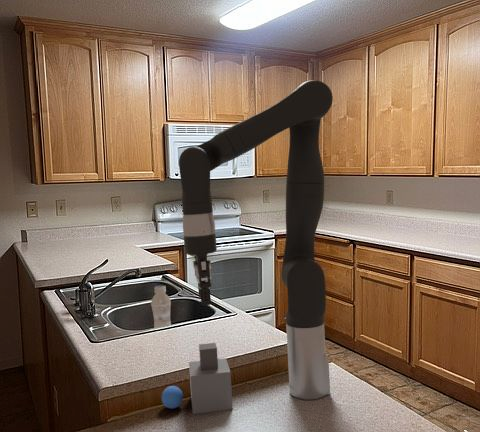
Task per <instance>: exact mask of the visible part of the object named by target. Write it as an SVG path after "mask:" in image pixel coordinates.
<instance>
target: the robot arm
mask: <svg viewBox="0 0 480 432" xmlns="http://www.w3.org/2000/svg"><path fill="white" fill-rule="evenodd" d="M333 100H334V99H333V92H332V90H331V88H330V87H329V86H328V85H327V84H326V83H325V82H323V81H320V80H318V79H317V80H315V79H312V80H308V81H304V82H302V83H301V84H299V85H298V86H297V87H296V88H295V89H294V90H293V91H292V92H291V93H289V95H286V97H285V98H283V99H281V100H279V102H276V103H275V104H273V105H271V106H270V107H268V108H266V109H264V110H262V111H260V112H258V113H256V114H254V115H252V116H250V117H247V118H246V119H244V120H241V121H240V122H237V123H236V124H234V125H232V126H230V127H227V128H226V129H224V130H222V131H220V132H219V133H217V134H215V135H213V137H212V138H210V139H209V140H206V141H205V142H202V143H201V144H199V145H197V146H190V147H188V148H185V149H184V150H183V151H182V152H181V153H180V156H179V157H178V169H179V175H180V183H181V189H182V190H181V192H182V193H181V195H182V196H181V204H182V206H181V207H182V208H181V209H182V231H183V245H184V253H185V254H186V255H187V256H188V255H190V256H194V260H193V261H192V263H193V265H192V267H193V269H194V276H195V278H196V282H197V288H198V289H197V290H198V297H199V298H200V304H201V306H203V307H204V306H205V307H206V306H211V304H212V300H211V287H212V283H211V279H212V273H211V272H212V271H211V268H212V264H211V263H212V262H211V260H210V259H208V255H209V254H213V253H216V252H217V249H218V247H217V236H216V235H217V234H216V223H215V218H214V209H213V199H212V192H211V171H213V170H215V169H217V168H218V167H220V166H222V165H223V164H224V163H228V162H230V161H232V160H234V159H236V158H239V157H241V156H242V155H244V154H246V153H249V152H250V151H251V150H254V149H255V148H256V147H259V146H260V145H262V144H264V143H266V141H268V140H269V139H271V138H273V137H274V136H276V135H278V134H279V133H282V132H283V131H286V130H287V129H288V131H289V150H288V158H287V171H286V179H285V181H286V182H285V183H286V185H285V245H284V252H283V258H282V259H283V260H282V265H281V271H280V272H281V273H280V275H281V280H282V283H283V284H284V286H285V287H286V290H287V311H286V312H285V326H286V329H285V330H286V345H287V346H286V347H287V348H286V349H287V362H288V364H287V365H288V367H287V368H288V386H289V393H290V395H291V396H293V398H294V397H295V398H297V399H301V400H307V401H308V400H317V399H321V398H323V397H326V396H327V395H331V383H330V382H331V381H330V379H331V378H330V363H329V361H330V360H329V359H330V358H329V355H328V353H326V336H325V335H326V334H325V315H326V311H327V298H326V297H327V296H326V293H327V290H326V287H327V286H326V277H325V272H324V270H323V268H322V266H321V265H320V264H319V263H318V262H316V259H315V258H316V256H315V240H316V239H315V237H316V233H317V228H318V224H319V221H320V219H321V215H322V211H323V207H324V198H325V172H324V165H323V162H322V158H321V157H322V156H321V152H320V144H319V143H320V142H319V140H320V138H319V137H320V127H321V121H322V119H323V117H325V116H326V115H327V114H328V112H329V110H331V108H332V104H333V102H334V101H333Z"/></svg>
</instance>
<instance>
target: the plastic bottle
mask: <svg viewBox="0 0 480 432" xmlns="http://www.w3.org/2000/svg"><path fill="white" fill-rule="evenodd" d="M166 288H167V287H166V285H156V286H154V295H153V297H152V298H151V301H150V305H151V309H152V315H153V323H154V325H153V326H154V327H153V329H154V328H158V327H163V326H167V325H171V326H172V322H171V305H172V303H171V302H172V301H171V299H170V297H169V295H168V294H166V292H167V289H166Z"/></svg>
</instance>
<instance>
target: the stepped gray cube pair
mask: <svg viewBox="0 0 480 432" xmlns="http://www.w3.org/2000/svg"><path fill="white" fill-rule="evenodd" d="M198 351H199V352H198V353H199V360H196V361H195V360H194V361H189V362H188V367H189V370H188V371H189V382H190V383H189V385H190V397H191V398H190V400H191V408H192V410H191V411H192V415H197V414H206V413H212V412H221V411H228V410H229V411H231V410H233V393H232V392H233V391H232V377H231V376H232V374H231V369H230V367H229V363H228V360H227V358H226V357H224V358H218V347H217V343H216V342H210V343H201V344H198Z"/></svg>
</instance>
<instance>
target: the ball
mask: <svg viewBox="0 0 480 432" xmlns="http://www.w3.org/2000/svg"><path fill="white" fill-rule="evenodd" d="M183 399H184V394H183V391H182V390H181V389H180V388H179V387H178V386H176V385H169V386H168V387H166V388H165V389H164V390H163V391H162V394H161V402H162V404H163V405H164V407H165V408H168V409H173V410H174V409H177V408H178V407H179V406H180V405H181V404H182V402H183Z"/></svg>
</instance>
